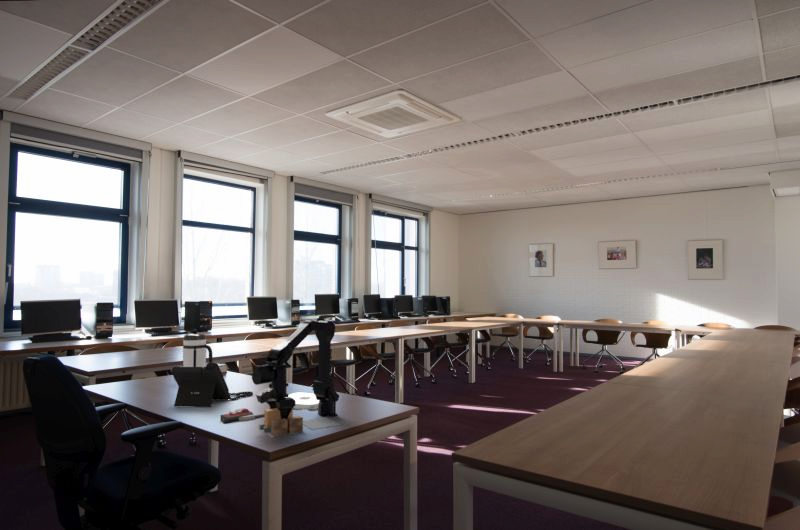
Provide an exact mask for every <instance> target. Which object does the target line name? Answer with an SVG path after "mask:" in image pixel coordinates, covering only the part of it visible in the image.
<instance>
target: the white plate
mask: <svg viewBox="0 0 800 530" xmlns="http://www.w3.org/2000/svg"><path fill="white" fill-rule="evenodd" d="M288 397H291V398H293V399H294V400H295V406H294V408H295V409H294V410H301V409H304V410H306V409H307V410H306V411H311V410H310V409H315V410H318V409H317V408H318V404H319V400H317V399H316V395H315V394H314V392H301V391H299V392H298V391H297V392H293V393H292V392H291V393H290V394H288ZM285 398H287V397H285Z"/></svg>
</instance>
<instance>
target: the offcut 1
mask: <svg viewBox="0 0 800 530" xmlns="http://www.w3.org/2000/svg"><path fill="white" fill-rule="evenodd" d="M284 434H287V420H286V419H285V418H283V419H277V420H271V435H273V436H276V437H280V436H279V435H282V436H285V435H284ZM287 435H288V434H287Z"/></svg>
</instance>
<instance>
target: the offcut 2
mask: <svg viewBox="0 0 800 530" xmlns="http://www.w3.org/2000/svg"><path fill="white" fill-rule="evenodd" d="M303 421H304V418H303V416H301V415H296V416H293V417H289V418H287V432H288V433H293V434H296V433H295V432H298V433H302V432H301V431H303V430H304V428H303V427H304V425H303Z"/></svg>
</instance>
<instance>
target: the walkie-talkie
mask: <svg viewBox="0 0 800 530" xmlns="http://www.w3.org/2000/svg"><path fill="white" fill-rule="evenodd" d="M263 417H264V418H265V413H263V414H256V415H255V414H254V412H253V411H250V410H249V409H248V408H246V407H244V408H237V409H235V410H234V411H231V410H230V411H229V412H228V413H225V414H220V422H221V421H222V422H221V423H222V424H228V423H234V422H238V421H239V422H243V421H244V422H245V421H251V420H256V419H260V418H263Z"/></svg>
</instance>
